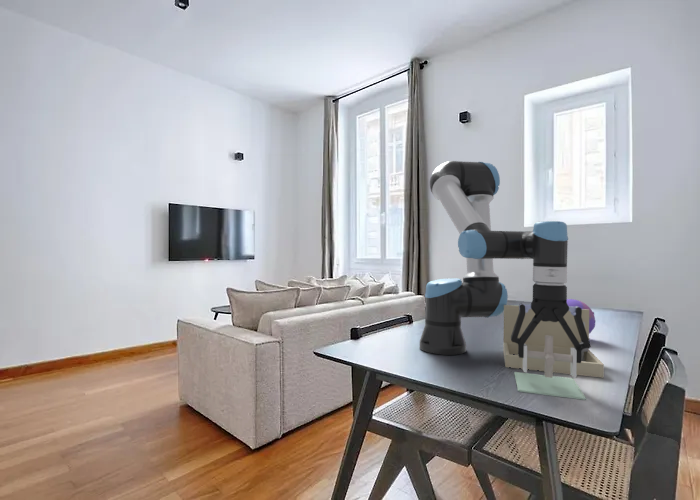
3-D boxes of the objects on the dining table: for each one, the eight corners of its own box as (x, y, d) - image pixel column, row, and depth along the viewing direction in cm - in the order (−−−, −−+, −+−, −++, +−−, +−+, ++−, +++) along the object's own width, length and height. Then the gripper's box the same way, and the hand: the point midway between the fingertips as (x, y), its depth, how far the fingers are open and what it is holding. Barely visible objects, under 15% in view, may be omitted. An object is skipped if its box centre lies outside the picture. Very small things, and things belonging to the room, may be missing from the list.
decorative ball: (604, 344, 137) (604, 302, 137) (561, 343, 137) (562, 301, 137) (579, 334, 152) (580, 296, 152) (541, 334, 152) (542, 296, 152)
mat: (518, 391, 91) (518, 389, 91) (514, 373, 104) (514, 371, 104) (586, 400, 86) (586, 398, 86) (573, 379, 99) (573, 378, 99)
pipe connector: (569, 373, 97) (569, 334, 97) (574, 386, 88) (574, 342, 88) (526, 368, 102) (526, 330, 102) (526, 379, 92) (527, 338, 92)
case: (505, 367, 109) (506, 312, 109) (503, 352, 125) (503, 304, 125) (603, 377, 101) (604, 319, 101) (587, 360, 117) (588, 309, 117)
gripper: (501, 283, 95) (500, 372, 95) (607, 287, 88) (606, 383, 88) (499, 280, 102) (498, 364, 102) (598, 284, 95) (597, 373, 95)
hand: (548, 373), depth 95 cm, fingers closed on pipe connector, 10 cm apart
